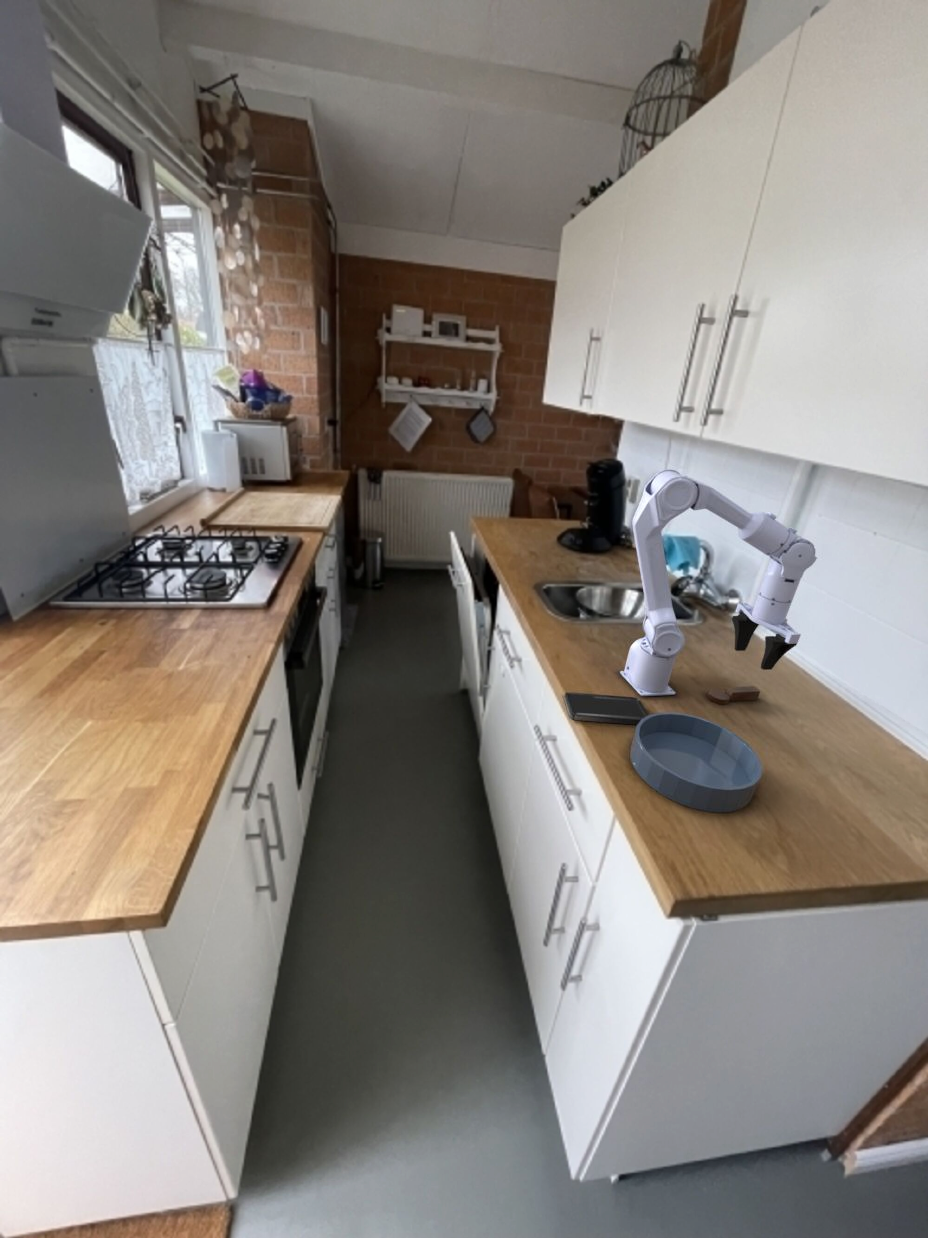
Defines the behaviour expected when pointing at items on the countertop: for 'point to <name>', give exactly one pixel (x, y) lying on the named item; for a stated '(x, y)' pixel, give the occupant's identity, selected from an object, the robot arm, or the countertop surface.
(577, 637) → the countertop surface
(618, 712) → the phone
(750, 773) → the shallow round tray
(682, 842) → the countertop surface
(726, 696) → the brown elongated piece
